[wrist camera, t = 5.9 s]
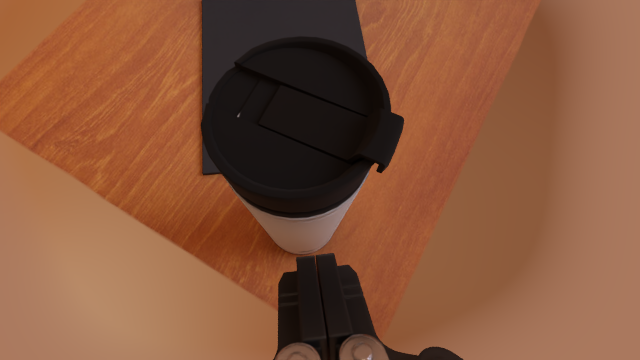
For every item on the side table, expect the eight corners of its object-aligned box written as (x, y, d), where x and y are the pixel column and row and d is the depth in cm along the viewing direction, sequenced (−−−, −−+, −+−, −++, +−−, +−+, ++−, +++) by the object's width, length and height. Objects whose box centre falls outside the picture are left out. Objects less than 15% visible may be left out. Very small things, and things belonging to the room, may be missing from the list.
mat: (386, 157, 31) (387, 155, 30) (203, 175, 29) (202, 173, 29) (352, -8, 37) (353, -11, 37) (202, 0, 36) (201, -3, 35)
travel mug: (321, 268, 27) (360, 241, 8) (255, 236, 27) (144, 140, 9) (349, 206, 29) (433, 63, 10) (286, 177, 29) (252, -9, 10)
